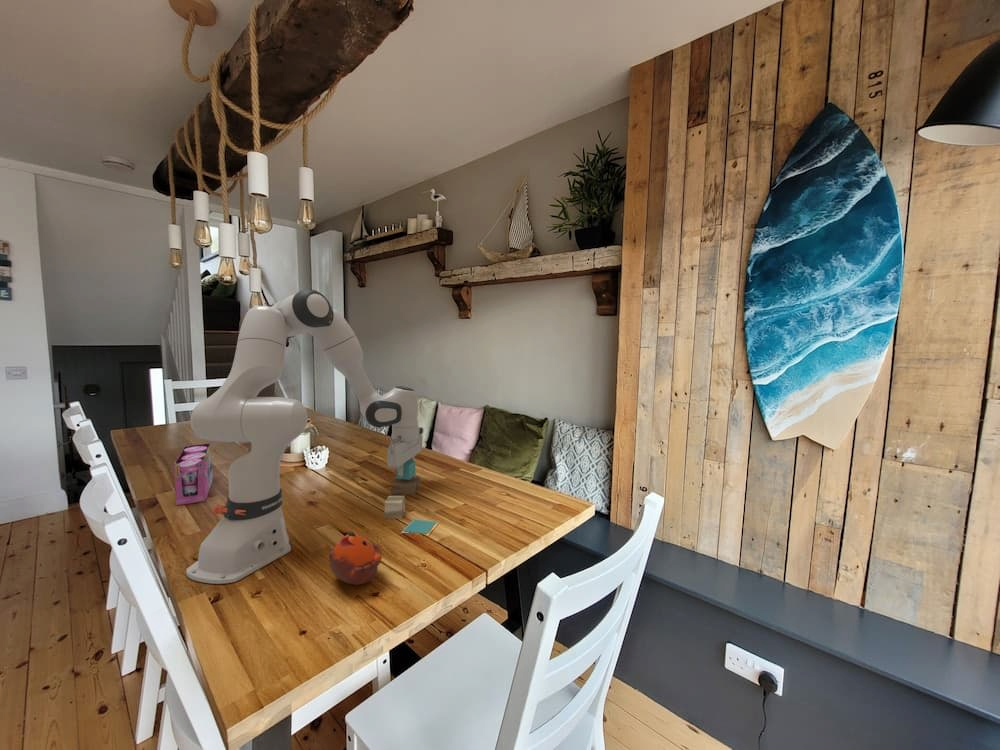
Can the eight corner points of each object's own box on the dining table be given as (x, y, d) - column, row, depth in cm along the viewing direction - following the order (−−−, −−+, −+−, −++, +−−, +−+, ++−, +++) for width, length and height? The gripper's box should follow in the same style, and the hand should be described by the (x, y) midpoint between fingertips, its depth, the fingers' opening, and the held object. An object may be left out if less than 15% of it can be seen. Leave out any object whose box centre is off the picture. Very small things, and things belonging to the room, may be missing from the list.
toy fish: (319, 582, 91) (317, 533, 90) (359, 560, 100) (358, 516, 99) (353, 602, 85) (352, 550, 84) (392, 577, 94) (392, 530, 92)
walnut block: (415, 496, 140) (414, 484, 139) (391, 495, 140) (391, 484, 139) (419, 487, 148) (419, 476, 147) (397, 486, 148) (397, 476, 147)
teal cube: (409, 479, 140) (409, 465, 139) (395, 478, 141) (395, 464, 141) (415, 474, 145) (415, 460, 144) (402, 473, 146) (402, 459, 145)
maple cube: (401, 518, 123) (401, 502, 122) (384, 518, 122) (384, 502, 122) (404, 511, 128) (404, 495, 127) (388, 511, 127) (388, 495, 127)
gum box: (206, 502, 131) (203, 461, 130) (174, 507, 127) (171, 465, 126) (213, 478, 152) (211, 442, 150) (186, 482, 148) (184, 445, 146)
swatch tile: (428, 537, 112) (428, 534, 112) (401, 533, 114) (401, 531, 114) (438, 523, 120) (438, 521, 120) (413, 520, 122) (413, 518, 121)
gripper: (400, 441, 131) (400, 483, 132) (425, 427, 150) (425, 463, 152) (381, 440, 132) (382, 481, 133) (409, 425, 152) (409, 462, 153)
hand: (405, 472), depth 143 cm, fingers closed on teal cube, 5 cm apart
